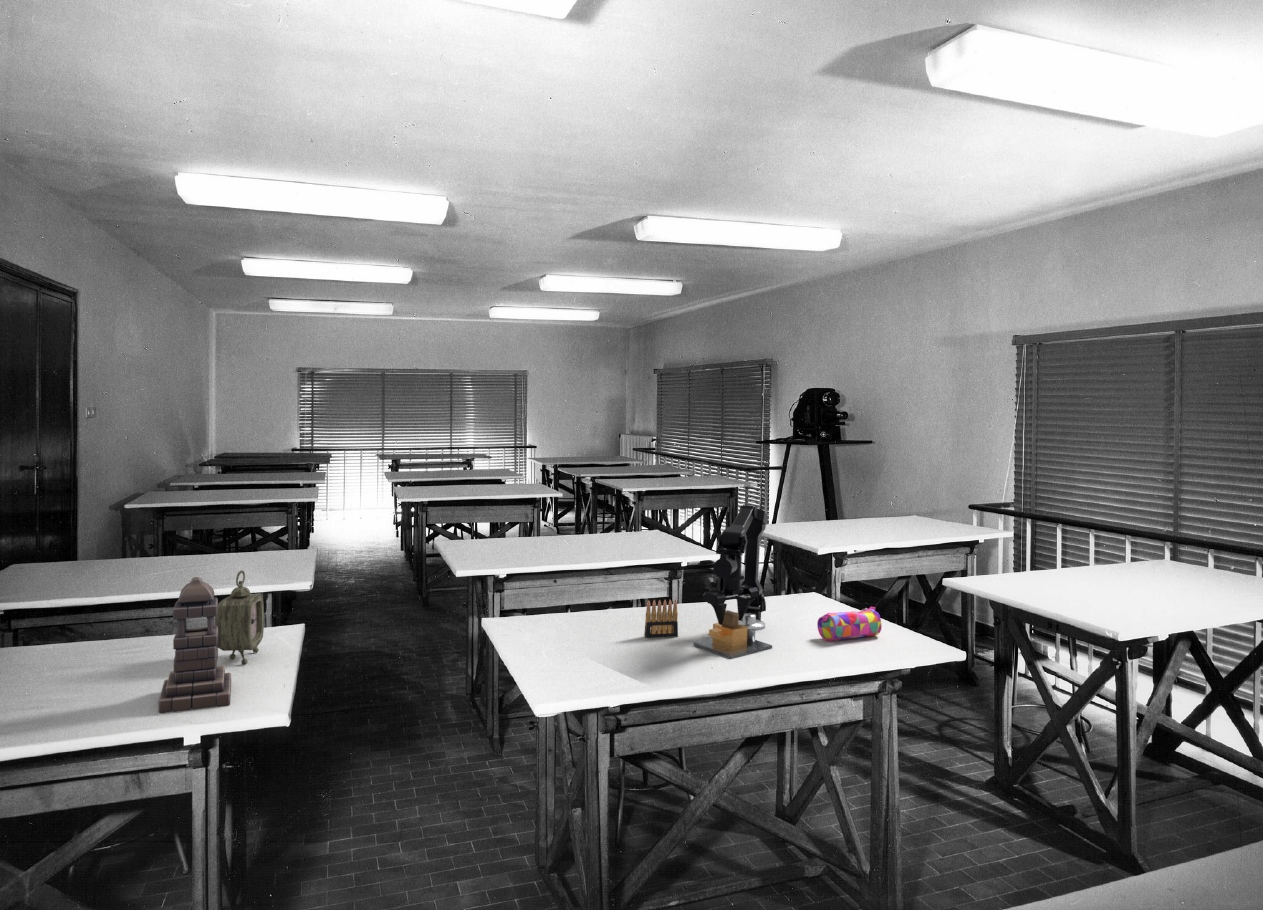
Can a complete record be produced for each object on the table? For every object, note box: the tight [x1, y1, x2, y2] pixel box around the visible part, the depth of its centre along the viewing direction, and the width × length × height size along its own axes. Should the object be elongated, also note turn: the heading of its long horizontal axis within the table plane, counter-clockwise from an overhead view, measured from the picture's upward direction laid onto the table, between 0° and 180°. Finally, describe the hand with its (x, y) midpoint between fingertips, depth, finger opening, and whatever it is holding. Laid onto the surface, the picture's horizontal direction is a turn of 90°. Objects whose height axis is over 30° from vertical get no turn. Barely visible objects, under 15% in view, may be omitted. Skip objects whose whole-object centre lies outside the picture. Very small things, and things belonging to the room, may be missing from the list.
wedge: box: [722, 609, 739, 629], centre depth 252 cm, size 2×4×10 cm, turn 40°
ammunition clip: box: [643, 598, 679, 639], centre depth 262 cm, size 11×2×12 cm, turn 102°
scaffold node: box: [693, 613, 773, 660], centre depth 254 cm, size 21×16×9 cm
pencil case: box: [816, 606, 882, 642], centre depth 267 cm, size 22×9×9 cm, turn 120°
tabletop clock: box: [214, 570, 265, 666], centre depth 230 cm, size 14×9×25 cm, turn 9°
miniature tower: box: [158, 576, 232, 714], centre depth 199 cm, size 16×15×30 cm
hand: (730, 622), depth 252 cm, fingers open, 8 cm apart
